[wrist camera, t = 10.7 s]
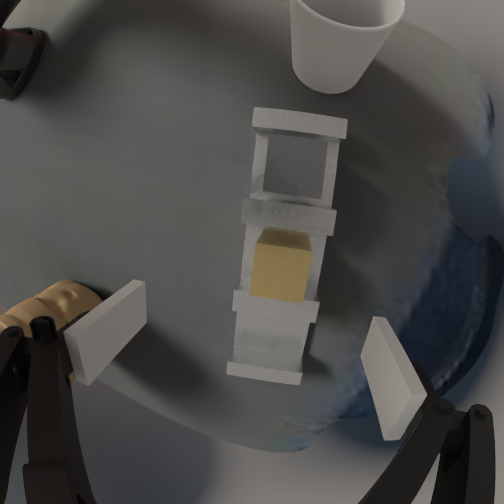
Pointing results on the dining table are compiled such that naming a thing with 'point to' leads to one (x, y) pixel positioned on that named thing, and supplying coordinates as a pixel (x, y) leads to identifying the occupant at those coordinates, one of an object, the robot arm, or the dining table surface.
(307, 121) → the white slotted rack
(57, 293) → the container
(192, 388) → the dining table surface
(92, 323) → the robot arm
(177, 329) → the dining table surface
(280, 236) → the tan wooden cube
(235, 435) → the dining table surface
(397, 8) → the cup
